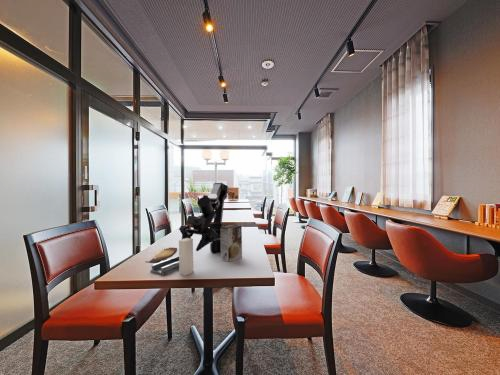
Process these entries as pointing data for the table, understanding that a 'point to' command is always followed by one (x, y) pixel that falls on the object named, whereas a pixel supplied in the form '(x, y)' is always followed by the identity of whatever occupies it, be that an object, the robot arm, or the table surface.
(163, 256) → the parchment
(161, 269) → the grey rectangular tray
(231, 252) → the coffee box
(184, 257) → the cream rectangular block
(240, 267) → the table surface
